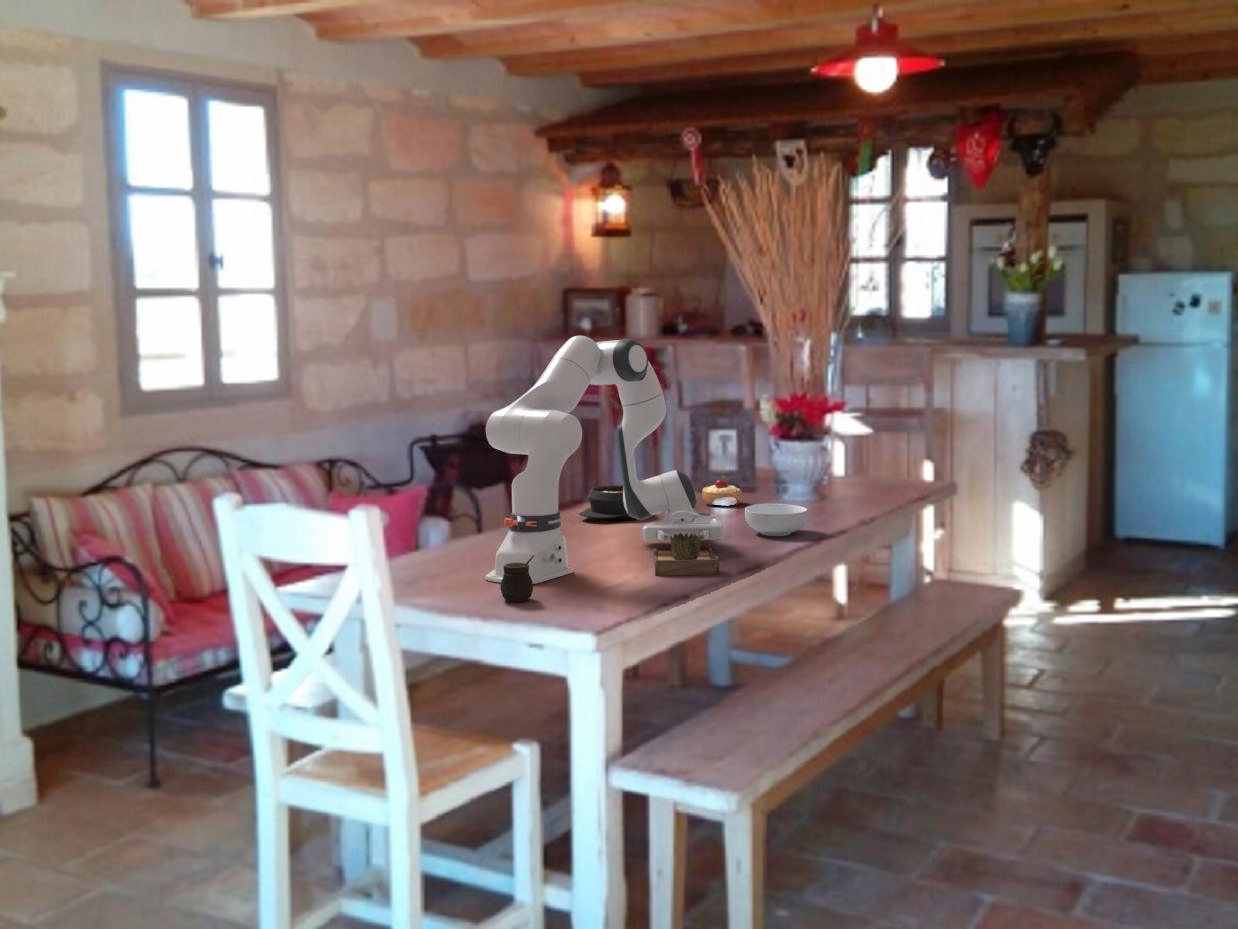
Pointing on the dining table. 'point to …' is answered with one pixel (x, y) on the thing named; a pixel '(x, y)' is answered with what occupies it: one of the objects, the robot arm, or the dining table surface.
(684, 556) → the cup
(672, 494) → the robot arm
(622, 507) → the casserole
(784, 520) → the cereal bowl
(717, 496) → the pastry
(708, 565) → the brown wooden tray
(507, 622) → the dining table surface
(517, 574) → the mate gourd
